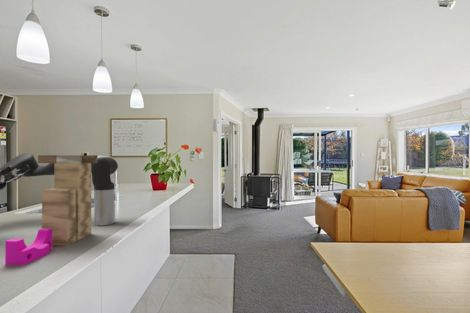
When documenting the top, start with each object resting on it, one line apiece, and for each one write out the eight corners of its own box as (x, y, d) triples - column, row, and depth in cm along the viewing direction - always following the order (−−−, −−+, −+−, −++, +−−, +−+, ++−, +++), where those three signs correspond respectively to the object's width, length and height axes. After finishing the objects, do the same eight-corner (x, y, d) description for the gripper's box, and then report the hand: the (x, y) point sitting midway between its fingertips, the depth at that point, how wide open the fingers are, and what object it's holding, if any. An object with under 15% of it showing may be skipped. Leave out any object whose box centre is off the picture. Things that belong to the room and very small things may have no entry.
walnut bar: (43, 162, 118) (43, 155, 118) (97, 162, 117) (97, 155, 117) (37, 163, 115) (37, 155, 115) (92, 163, 113) (92, 155, 113)
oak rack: (69, 233, 121) (69, 155, 121) (91, 233, 120) (91, 155, 120) (42, 244, 105) (41, 155, 105) (67, 245, 105) (66, 155, 104)
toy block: (23, 265, 86) (23, 241, 86) (5, 265, 87) (5, 241, 86) (58, 249, 101) (58, 229, 101) (42, 248, 101) (42, 228, 101)
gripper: (8, 191, 122) (38, 174, 121) (-25, 196, 108) (9, 177, 107) (0, 176, 122) (30, 159, 121) (-34, 180, 108) (0, 160, 107)
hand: (20, 167), depth 114 cm, fingers open, 8 cm apart
